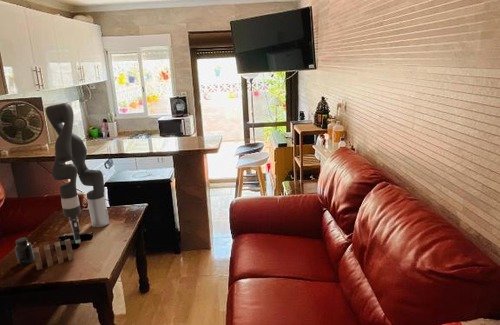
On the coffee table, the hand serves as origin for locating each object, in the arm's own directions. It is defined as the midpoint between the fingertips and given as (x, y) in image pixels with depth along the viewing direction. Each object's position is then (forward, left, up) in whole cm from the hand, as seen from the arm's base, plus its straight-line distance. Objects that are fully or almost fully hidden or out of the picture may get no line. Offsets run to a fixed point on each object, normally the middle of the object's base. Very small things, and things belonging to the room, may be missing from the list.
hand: (76, 237), depth 177 cm
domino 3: (+9, 0, -10) cm, 13 cm away
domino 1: (+18, 0, -10) cm, 20 cm away
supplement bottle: (+23, -9, -10) cm, 27 cm away
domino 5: (0, 0, -2) cm, 2 cm away
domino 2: (+13, 0, -10) cm, 17 cm away
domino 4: (+4, 0, -10) cm, 11 cm away
